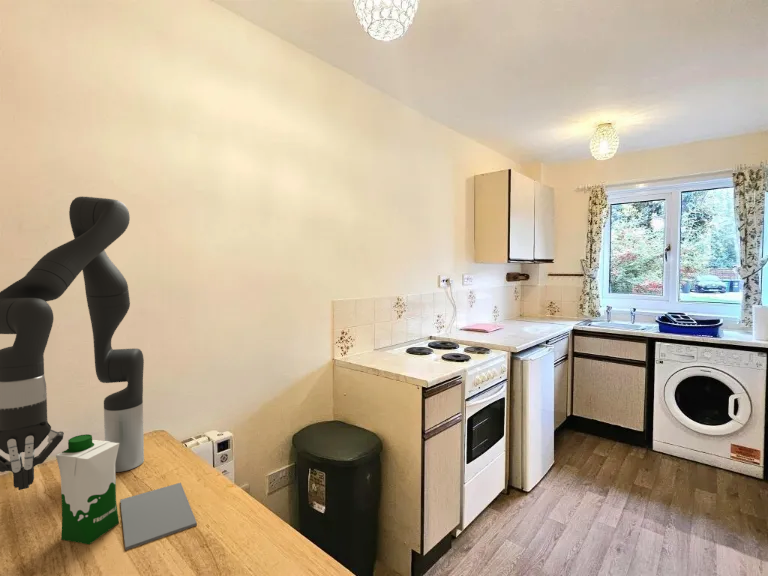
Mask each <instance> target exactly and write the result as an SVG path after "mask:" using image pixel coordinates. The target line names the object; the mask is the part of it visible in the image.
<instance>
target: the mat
mask: <svg viewBox="0 0 768 576" xmlns="http://www.w3.org/2000/svg"><path fill="white" fill-rule="evenodd" d="M119 500H120V502H119V503H121V504H120V512H121V519H122V531H123V542H124V550H125V551H127V550H131V549H133V548H136V547H139V546H142V545H144V544H148V543H151V542H153V541H156V540H159V539H162V538H164V537H165V538H166V537H168V536H170V535H173V534H175V533H176V534H177V533H178V532H182V531H184V530H185V531H186V530H188V529H190V528H193V527H196V526H198V524H197V522H198V521H197V520H196V518H195V515H194V513H193V510H192V507H191V505H190V502H189V499H188V497H187V495H186V493H185V490H184V487H183V485H182V482H178V483H175V484H171V485H167V486H163V487H160V488H157V489H153V490H150V491H147V492H143V493H139V494H136V495H132V496H129V497H125V498H122V499H119Z"/></svg>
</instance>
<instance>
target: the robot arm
mask: <svg viewBox="0 0 768 576" xmlns="http://www.w3.org/2000/svg"><path fill="white" fill-rule="evenodd" d="M68 212H69V213H68V214H69V222H70V223H69V224H70V227H71V231H72V234H73V237H74V239H71V240H70V241H67V242H65V243H63V244H61V245H59V246H56V247H55V248H53V249H52V250H49V251H48V252H47V253H46V254H45V255H43V256H42V257H41V258H40V259H39V260H38V261H36V263H35V264H34V265H33V266H32V267H31V269H30V270H29V271H28V272H27V273H26V274H25V275H24V276H23V277H22V278H20V279H18V280H17V281H15V282H13V283H12V284H10V285H9V286H7V287H5V288H4V289H2V290H1V291H0V335H15V339H14V342H13V344H12V346H11V345H10V346H7V347H3V348H1V349H0V450H1V451H2V452H3V453H4V454H6V455H8V456H9V460H8V459H7V458H6V457H4V456H3V455H1V454H0V472H1V473H5V472H11V473H12V478H13V487H14V489H16V488H17V489H18V491H21V490H25V489H29V488H30V485H32V484H33V483H34V480H35V467H36V466H38V465H41V464H43V463H45V461H46V460H47V459H48V458H49V456H50V455H51V454H52V452H53V451H55V449H56V448H57V447H58V445H59V444H60V443H61V442H63V441H62V440H63V439H64V435H65V434H64V432H63V431H57V430H53V429H52V426H51V425H50V424H49V422H48V398H47V396H48V395H47V394H48V393H47V383H46V377H45V362H44V361H45V359H44V358H45V357H44V354H45V351H46V347H47V345H48V341H49V338H50V334H51V331H52V327H53V324H54V311H53V308H52V307H51V306H50V304H49V303H48V302H50V301H55V300H57V299H59V298H60V297H61V296H62V295H64V293H65V292H66V291H67V289H68V288H69V287H70V286H71V284H72V283H73V282H74V281H75V279H76V278H77V277H78V275H79V274H81V272H82V275H83V276H82V277H83V282H84V289H85V297H86V303H87V308H88V309H87V310H88V313H89V318H90V324H91V329H92V330H91V331H92V339H93V352H94V355H93V358H94V368H95V374H96V377H97V380H98V381H99V382H100V383H103V384H112V383H127V385H126V387H125V388H123V389H121V390H119V391H116V392H113V393H110V394H109V395H107V396H106V397H105V398H104V400H103V423H104V424H103V425H104V426H103V427H104V429H103V430H104V441H110V442H113V443H119V448H118V452H117V457H116V462H115V473H120V472H121V473H122V472H126V471H129V470H133V469H135V468H137V467H140V465H142V464H143V463H144V461H145V453H144V451H145V449H144V446H145V444H144V443H145V442H144V439H145V438H144V398H143V396H144V368H145V367H144V364H145V362H144V361H145V360H144V358H145V357H144V354H143V351H142V350H141V349H140V348H116V349H113V347H112V338H113V336H114V334H115V332H116V330H117V328H118V327H119V325H120V324H121V323H122V321H123V320H124V318H125V317H126V316H127V314H128V311H129V310H130V306H131V302H130V301H131V300H130V293H129V285H128V281H127V280H126V278H125V276H124V275H123V273H122V272H121V271H120V269H119V268H118V267H117V266H116V264H114V262H113V261H112V259H110V257H109V256H108V255H107V253H106V251H105V250H106V249H108V248H109V246H111V245H112V244H113V243H115V241H116V240H117V239H119V238H120V237H121V236H122V235H123V234H124V233H125V232H126V230H127V229H128V227H129V226H130V225H129V224H130V218H131V217H130V216H131V215H130V211H129V208H128V207H127V205H126V204H125V203H124V202H122V201H120V200H118V199H115V198H104V197H93V196H76V197H75V198H74V199H72V201H71V202H70V205H69V211H68ZM47 437H48V438H47ZM46 438H47V443H48V444H46V445H45V446H44V448H43V449H42V450H41V452H40V453H39V454H38V455H37V456H35V453H36V449H38V448H39V447H40V445H41V444H42V443H43V442H44V440H46ZM22 453H24V456H22ZM23 457H24V461H23Z"/></svg>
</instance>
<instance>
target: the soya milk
mask: <svg viewBox="0 0 768 576" xmlns="http://www.w3.org/2000/svg"><path fill="white" fill-rule="evenodd" d="M67 445H68V448H67V449H65V450H63V451H61V452H59V453H58V454H57V453H56V455H55V457H56V462H57V465H58V469H59V474H60V486H61V487H60V490H61V493H60V494H61V533H60V534H61V537H60V540H62V541H68V542H72V543H79V544H85V545H91V544H92V543H94V542H95V541H97V540H98V539H99V538H101V537H102V536H104V535H105V534H106V533H107V532H109V531H110V530H112V529H113V528H114V527H116V526H117V525H118V524H120V520H119V513H118V505H117V485H116V484H117V482H116V478H117V477H116V472H115V462H116V457H117V452H118V448H119V443H113V442H110V441H105V440H96V439H93V435H92V434H80V435H75V436H73V437H71V438H69V439H68V440H67Z"/></svg>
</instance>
